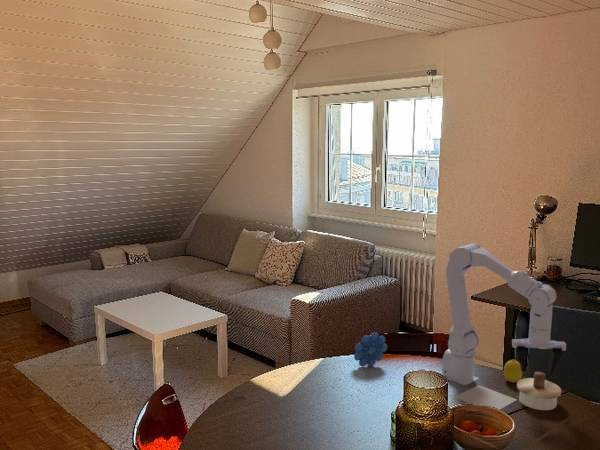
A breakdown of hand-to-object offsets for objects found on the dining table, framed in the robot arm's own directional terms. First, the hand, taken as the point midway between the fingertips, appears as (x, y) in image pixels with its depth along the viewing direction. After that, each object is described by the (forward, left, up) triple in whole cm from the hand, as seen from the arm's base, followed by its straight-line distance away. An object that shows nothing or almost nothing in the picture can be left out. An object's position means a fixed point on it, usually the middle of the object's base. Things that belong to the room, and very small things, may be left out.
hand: (536, 371), depth 166 cm
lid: (+1, 0, -5) cm, 5 cm away
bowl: (+1, +1, -10) cm, 10 cm away
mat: (-10, -9, -10) cm, 17 cm away
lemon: (-11, +8, -10) cm, 17 cm away
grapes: (-50, -17, -10) cm, 54 cm away
